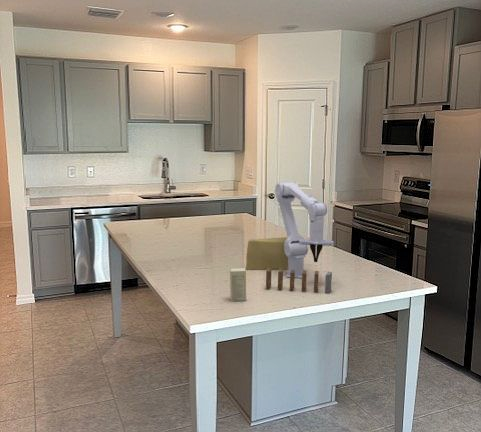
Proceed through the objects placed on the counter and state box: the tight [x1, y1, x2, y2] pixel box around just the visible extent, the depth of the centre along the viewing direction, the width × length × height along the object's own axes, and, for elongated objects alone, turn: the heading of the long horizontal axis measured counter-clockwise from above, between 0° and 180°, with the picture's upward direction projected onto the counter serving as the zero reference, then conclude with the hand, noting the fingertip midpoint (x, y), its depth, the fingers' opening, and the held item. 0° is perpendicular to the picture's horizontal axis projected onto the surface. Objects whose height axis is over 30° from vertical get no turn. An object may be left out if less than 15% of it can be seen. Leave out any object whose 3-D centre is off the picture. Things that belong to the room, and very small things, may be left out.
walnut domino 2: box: [277, 269, 284, 292], centre depth 204 cm, size 2×5×8 cm, turn 169°
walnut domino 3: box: [289, 269, 296, 292], centre depth 204 cm, size 2×5×8 cm, turn 170°
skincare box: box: [229, 267, 247, 302], centre depth 190 cm, size 6×4×12 cm
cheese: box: [245, 236, 288, 271], centre depth 235 cm, size 22×10×15 cm, turn 103°
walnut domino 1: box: [265, 268, 272, 291], centre depth 205 cm, size 2×5×8 cm, turn 170°
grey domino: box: [324, 271, 333, 295], centre depth 201 cm, size 2×5×8 cm, turn 158°
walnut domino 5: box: [313, 270, 320, 294], centre depth 202 cm, size 2×5×8 cm, turn 170°
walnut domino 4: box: [301, 269, 308, 293], centre depth 203 cm, size 2×5×8 cm, turn 169°
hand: (315, 261), depth 210 cm, fingers closed
